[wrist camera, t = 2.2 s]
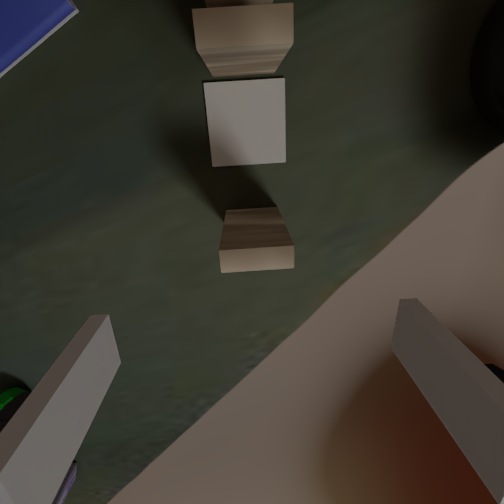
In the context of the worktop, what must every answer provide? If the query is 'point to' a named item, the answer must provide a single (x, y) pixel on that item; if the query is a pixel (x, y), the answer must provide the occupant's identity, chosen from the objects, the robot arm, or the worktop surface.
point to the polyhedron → (9, 395)
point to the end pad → (246, 121)
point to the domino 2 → (255, 241)
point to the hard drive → (29, 26)
